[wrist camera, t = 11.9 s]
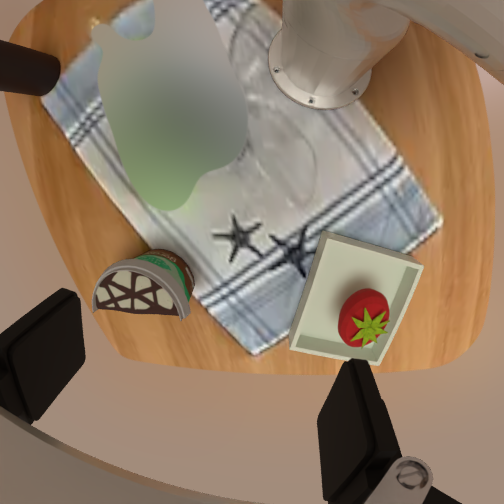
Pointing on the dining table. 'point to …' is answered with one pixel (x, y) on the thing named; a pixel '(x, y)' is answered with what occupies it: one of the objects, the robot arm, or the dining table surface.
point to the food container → (146, 285)
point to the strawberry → (363, 317)
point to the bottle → (26, 70)
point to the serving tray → (342, 287)
